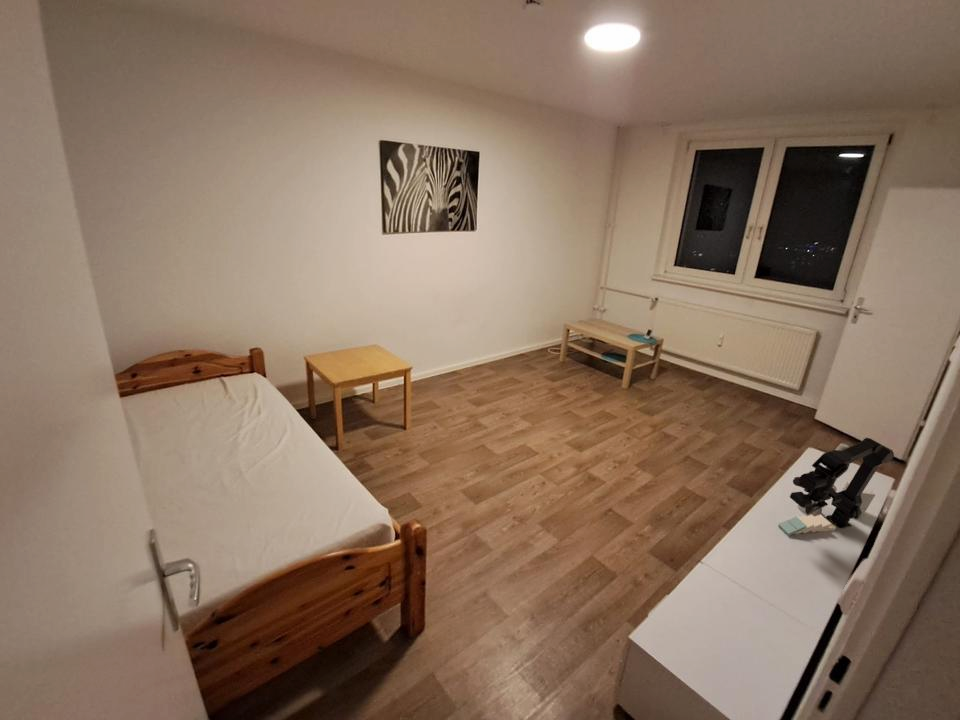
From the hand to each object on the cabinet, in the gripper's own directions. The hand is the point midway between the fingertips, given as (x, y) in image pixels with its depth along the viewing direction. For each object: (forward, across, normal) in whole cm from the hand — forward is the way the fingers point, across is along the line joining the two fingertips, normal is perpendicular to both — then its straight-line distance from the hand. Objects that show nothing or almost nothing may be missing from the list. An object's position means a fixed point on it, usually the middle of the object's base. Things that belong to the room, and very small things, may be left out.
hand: (807, 513), depth 172 cm
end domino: (+10, -11, -2) cm, 15 cm away
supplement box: (+12, -37, -8) cm, 40 cm away
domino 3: (+10, -3, -2) cm, 11 cm away
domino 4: (+10, -7, -2) cm, 13 cm away
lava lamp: (+12, -18, -10) cm, 23 cm away
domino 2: (+10, +1, -2) cm, 11 cm away
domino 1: (+10, +5, -2) cm, 11 cm away
